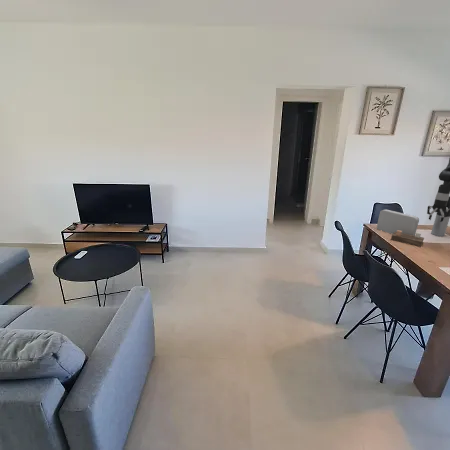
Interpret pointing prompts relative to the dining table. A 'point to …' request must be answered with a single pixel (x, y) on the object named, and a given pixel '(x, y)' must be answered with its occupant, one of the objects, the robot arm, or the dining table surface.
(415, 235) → the block
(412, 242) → the console
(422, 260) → the dining table surface
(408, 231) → the rounded white slab
